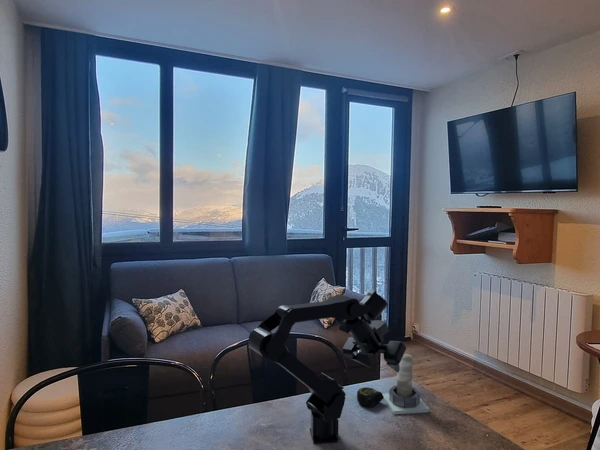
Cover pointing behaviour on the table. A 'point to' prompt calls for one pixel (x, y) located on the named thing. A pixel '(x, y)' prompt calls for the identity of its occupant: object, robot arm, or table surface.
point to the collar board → (399, 410)
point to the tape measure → (369, 396)
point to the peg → (405, 376)
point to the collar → (404, 398)
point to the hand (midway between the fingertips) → (384, 369)
